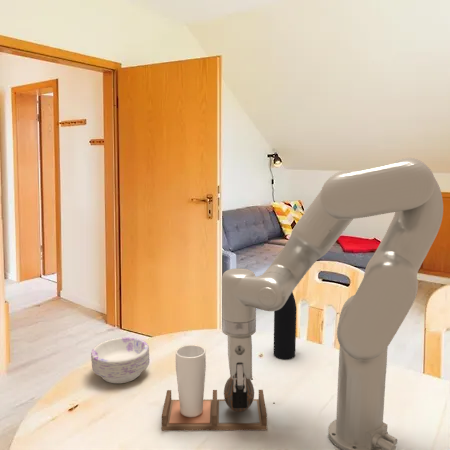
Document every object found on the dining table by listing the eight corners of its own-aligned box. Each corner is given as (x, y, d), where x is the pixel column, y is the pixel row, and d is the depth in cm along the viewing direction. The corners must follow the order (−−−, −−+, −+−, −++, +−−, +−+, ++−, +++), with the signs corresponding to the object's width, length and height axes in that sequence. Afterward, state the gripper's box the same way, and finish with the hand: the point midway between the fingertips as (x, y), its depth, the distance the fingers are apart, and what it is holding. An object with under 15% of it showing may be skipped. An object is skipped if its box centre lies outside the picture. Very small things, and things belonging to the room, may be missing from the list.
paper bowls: (80, 381, 129) (78, 353, 127) (118, 358, 142) (117, 332, 140) (125, 395, 122) (124, 365, 120) (161, 370, 135) (160, 343, 133)
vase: (245, 396, 116) (245, 362, 115) (259, 410, 110) (259, 374, 109) (219, 403, 113) (218, 368, 112) (231, 418, 107) (231, 381, 106)
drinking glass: (207, 404, 115) (207, 344, 112) (204, 421, 108) (203, 358, 105) (179, 403, 115) (178, 344, 113) (174, 419, 109) (172, 357, 106)
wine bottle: (270, 351, 146) (271, 254, 141) (289, 348, 148) (291, 252, 142) (278, 360, 140) (280, 259, 134) (299, 357, 142) (301, 257, 136)
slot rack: (262, 402, 118) (262, 389, 117) (266, 429, 107) (266, 415, 106) (167, 403, 118) (167, 390, 117) (161, 430, 107) (161, 416, 106)
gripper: (258, 340, 100) (258, 419, 103) (253, 310, 117) (253, 379, 120) (222, 340, 100) (222, 420, 103) (222, 311, 117) (222, 379, 120)
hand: (239, 397), depth 111 cm, fingers closed on vase, 6 cm apart
